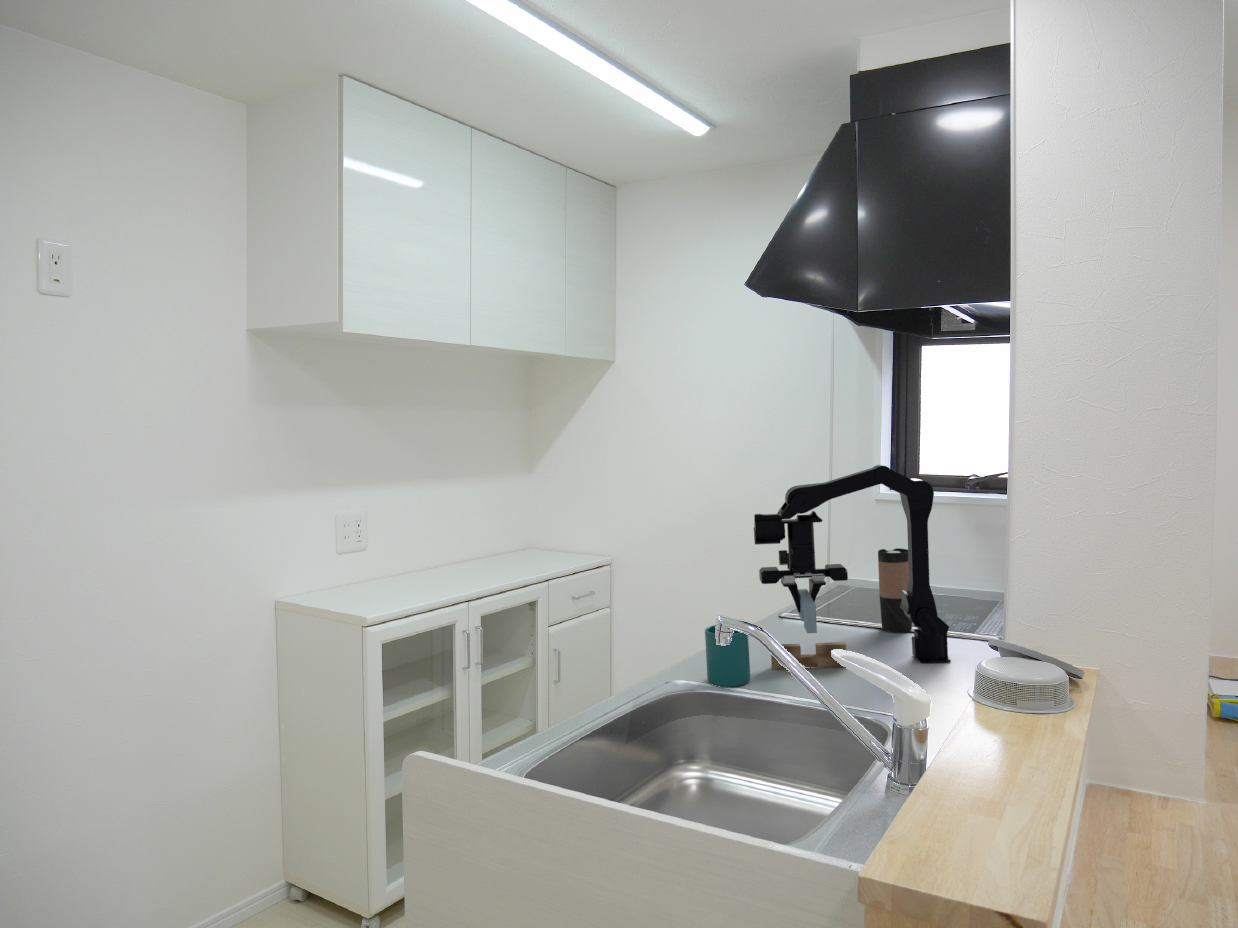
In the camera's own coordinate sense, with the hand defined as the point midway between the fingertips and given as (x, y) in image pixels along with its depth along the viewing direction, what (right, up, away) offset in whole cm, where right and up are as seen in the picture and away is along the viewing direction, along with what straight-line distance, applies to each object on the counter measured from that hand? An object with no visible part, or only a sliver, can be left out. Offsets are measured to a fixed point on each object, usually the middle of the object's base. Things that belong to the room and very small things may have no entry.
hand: (804, 612), depth 183 cm
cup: (-17, -13, -9) cm, 23 cm away
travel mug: (+29, -9, +24) cm, 38 cm away
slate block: (0, -2, -4) cm, 4 cm away
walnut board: (0, -12, -3) cm, 12 cm away
